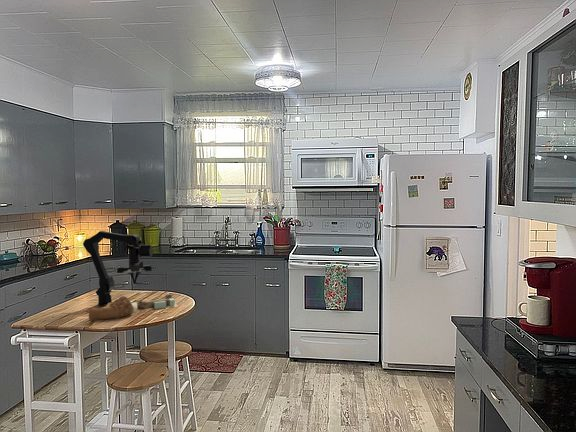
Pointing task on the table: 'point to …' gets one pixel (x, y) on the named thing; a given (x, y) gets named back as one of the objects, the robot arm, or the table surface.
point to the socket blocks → (164, 303)
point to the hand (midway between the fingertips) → (134, 283)
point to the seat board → (152, 307)
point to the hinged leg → (149, 303)
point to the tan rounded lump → (112, 310)
